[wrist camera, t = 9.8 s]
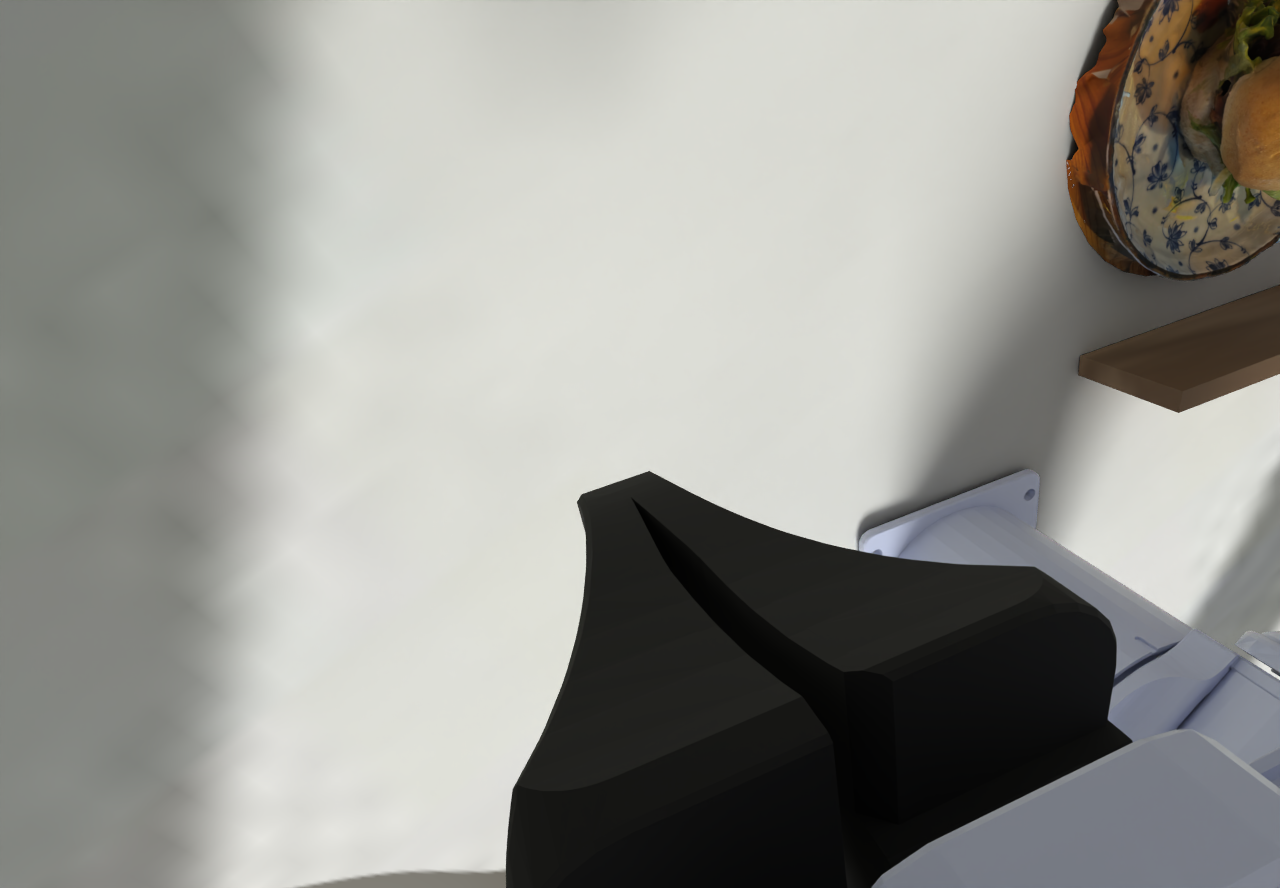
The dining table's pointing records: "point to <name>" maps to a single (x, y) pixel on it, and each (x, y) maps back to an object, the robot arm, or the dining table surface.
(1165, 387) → the box
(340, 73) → the dining table surface
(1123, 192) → the burger
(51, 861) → the dining table surface
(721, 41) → the dining table surface
